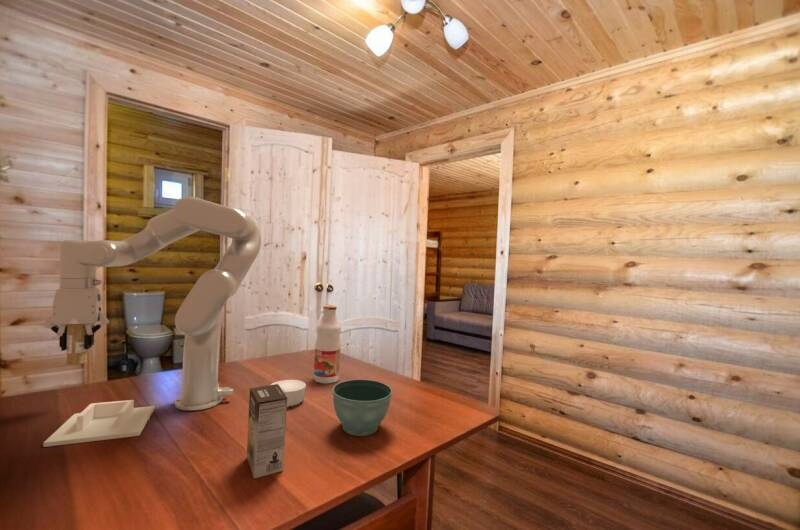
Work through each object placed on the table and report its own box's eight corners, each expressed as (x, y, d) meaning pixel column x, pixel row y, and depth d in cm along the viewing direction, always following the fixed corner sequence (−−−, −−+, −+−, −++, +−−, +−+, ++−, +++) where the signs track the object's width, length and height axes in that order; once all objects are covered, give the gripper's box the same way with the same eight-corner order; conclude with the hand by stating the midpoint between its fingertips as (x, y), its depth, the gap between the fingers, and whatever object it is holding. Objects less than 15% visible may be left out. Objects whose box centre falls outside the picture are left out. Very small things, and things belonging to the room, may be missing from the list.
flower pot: (398, 422, 103) (400, 384, 103) (376, 449, 88) (378, 405, 87) (347, 411, 108) (349, 375, 108) (318, 435, 93) (321, 393, 93)
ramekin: (260, 404, 110) (260, 387, 110) (284, 392, 120) (285, 377, 120) (289, 412, 106) (290, 394, 106) (312, 399, 116) (312, 383, 116)
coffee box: (245, 457, 81) (248, 387, 81) (274, 450, 84) (277, 383, 84) (253, 479, 73) (257, 401, 73) (285, 471, 77) (288, 396, 76)
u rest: (154, 409, 103) (155, 393, 103) (139, 435, 88) (140, 417, 88) (74, 417, 96) (75, 400, 95) (43, 447, 81) (44, 427, 81)
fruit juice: (344, 380, 136) (347, 306, 135) (324, 386, 128) (328, 308, 128) (327, 374, 142) (331, 303, 141) (308, 379, 134) (312, 305, 134)
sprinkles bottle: (85, 364, 100) (86, 316, 100) (63, 366, 98) (64, 317, 97) (88, 360, 104) (89, 314, 104) (67, 362, 101) (68, 315, 101)
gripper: (119, 283, 107) (118, 343, 107) (45, 283, 101) (44, 347, 101) (110, 285, 100) (109, 349, 101) (30, 285, 94) (29, 354, 94)
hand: (76, 348), depth 101 cm, fingers closed on sprinkles bottle, 4 cm apart
